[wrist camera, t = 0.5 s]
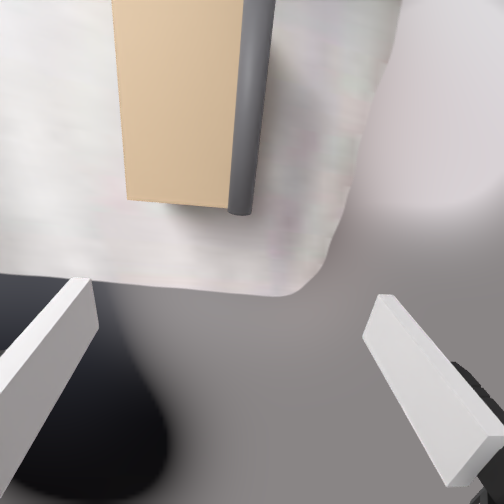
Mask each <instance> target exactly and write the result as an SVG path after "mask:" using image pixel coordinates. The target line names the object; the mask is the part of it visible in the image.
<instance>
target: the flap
mask: <svg viewBox="0 0 504 504" xmlns="http://www.w3.org/2000/svg"><path fill="white" fill-rule="evenodd" d="M111 1H112V13H113V26H114V39H115V51H116V64H117V77H118V89H119V102H120V114H121V127H122V140H123V152H124V165H125V178H126V190H127V200H135V201H147V202H159V203H170V204H182V205H194V206H206V207H218V208H228V212H229V213H231V214H234V215H240V216H246V215H250V214H251V212H252V203H253V194H254V185H255V177H256V168H257V159H258V150H259V142H260V133H261V124H262V115H263V107H264V98H265V89H266V80H267V71H268V63H269V54H270V45H271V36H272V28H273V19H274V10H275V1H276V0H111Z"/></svg>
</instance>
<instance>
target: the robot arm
mask: <svg viewBox="0 0 504 504" xmlns="http://www.w3.org/2000/svg"><path fill="white" fill-rule="evenodd" d="M98 328H99V324H98V318H97V312H96V306H95V300H94V294H93V288H92V282H91V278H75V277H72V278H71V279H70V280H69V281H68V282H67V283H66V285H65V286H64V287H63V288H62V289H61V290H60V291H59V292H58V293H57V295H56V296H55V297H54V298H53V299H52V300H51V301H50V303H48V305H47V306H46V307H45V308H44V309H43V310H42V311H41V312H40V313H39V315H38V316H37V317H36V318H35V319H34V320H33V321H32V322H31V324H30V325H29V326H28V327H27V328H26V329H25V330H24V331H23V333H22V334H21V335H20V336H19V337H18V338H17V339H16V340H15V341H14V342H13V344H12V345H11V346H10V347H9V348H8V349H7V350H0V498H1V496H2V495H3V493H4V491H5V489H6V488H7V486H8V484H9V483H10V481H11V479H12V477H13V476H14V474H15V472H16V470H17V469H18V467H19V465H20V464H21V462H22V460H23V458H24V457H25V455H26V453H27V451H28V450H29V448H30V446H31V444H32V443H33V441H34V439H35V438H36V436H37V434H38V432H39V431H40V429H41V427H42V425H43V424H44V422H45V420H46V419H47V417H48V415H49V413H50V411H51V410H52V408H53V406H54V405H55V403H56V401H57V400H58V397H59V396H60V394H61V393H62V391H63V389H64V387H65V386H66V384H67V382H68V380H69V379H70V377H71V375H72V374H73V372H74V370H75V368H76V366H77V365H78V363H79V361H80V360H81V358H82V356H83V354H84V353H85V351H86V349H87V348H88V346H89V344H90V342H91V341H92V339H93V337H94V335H95V334H96V332H97V330H98ZM362 338H363V340H364V341H365V343H366V345H367V347H368V349H369V350H370V352H371V354H372V356H373V357H374V359H375V361H376V363H377V365H378V366H379V368H380V370H381V372H382V373H383V375H384V377H385V379H386V381H387V382H388V384H389V386H390V388H391V389H392V391H393V393H394V395H395V397H396V398H397V400H398V402H399V404H400V405H401V407H402V409H403V411H404V412H405V414H406V416H407V418H408V420H409V421H410V423H411V425H412V427H413V429H414V430H415V432H416V434H417V436H418V437H419V439H420V441H421V443H422V445H423V446H424V448H425V450H426V452H427V453H428V455H429V457H430V459H431V461H432V462H433V464H434V466H435V468H436V469H437V471H438V473H439V475H440V477H441V478H442V480H443V482H444V484H445V485H446V487H464V486H469V485H470V484H471V482H472V481H473V480H474V479H475V478H476V477H478V478H479V480H480V481H481V483H482V484H483V486H484V487H483V489H481V490H480V491H479V493H478V494H477V495H476V496H475V497H474V498H473V499H472V500H471V502H470V504H479V503H480V504H504V411H503V410H502V409H501V408H500V407H499V405H498V404H497V403H496V402H495V401H494V400H493V399H491V398H490V396H489V394H488V393H487V392H486V391H485V390H484V388H481V385H480V384H479V383H478V382H477V381H476V380H475V378H474V377H473V376H472V375H471V374H470V373H469V372H468V371H467V370H465V369H464V368H463V367H461V366H460V365H459V364H457V363H456V362H450V361H449V360H448V359H447V358H446V357H445V355H444V354H443V353H442V352H441V351H440V350H439V348H438V347H437V346H436V345H435V344H434V342H433V341H432V340H431V339H430V338H429V337H428V335H427V334H426V333H425V332H424V331H423V329H422V328H421V327H420V326H419V325H418V324H417V322H416V321H415V320H414V319H413V318H412V316H411V315H410V314H409V313H408V312H407V311H406V310H405V308H404V307H403V306H402V305H401V304H400V302H399V301H398V300H397V299H396V298H395V296H394V295H384V294H383V295H382V294H378V297H377V299H376V302H375V304H374V307H373V310H372V312H371V315H370V318H369V320H368V323H367V325H366V328H365V331H364V333H363V336H362Z"/></svg>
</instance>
